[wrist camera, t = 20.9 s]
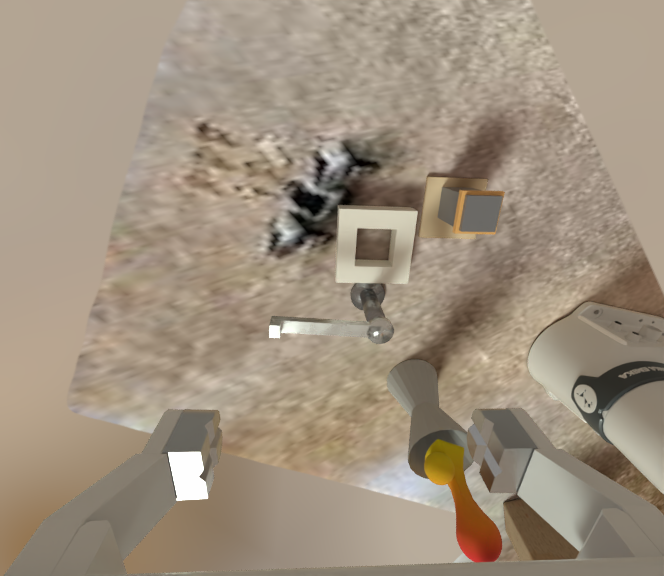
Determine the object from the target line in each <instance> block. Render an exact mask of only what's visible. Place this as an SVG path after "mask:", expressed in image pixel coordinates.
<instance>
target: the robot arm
mask: <svg viewBox="0 0 664 576" xmlns="http://www.w3.org/2000/svg"><path fill="white" fill-rule="evenodd" d="M595 310H596V311H595ZM594 311H595V312H594ZM528 369H529V372H530V374H531V376H532V377H533V378H534V379H535V380H536V381H537V382H539V383H540V384H541V385H543V386H544V387H545V390H546V392H547V394H548V395H549V396H550V397H551V398H552V399H553V400H559V401H561V402H562V403H563V404H564V405H565V406H566V407H568V408H569V409H570V410H571V411H572V412H573V413H575V414H576V415H577V416H578V417H579V418H580V419H582V420H583V421H584V422H586V423H588V424H589V425H590V426H591V427H592V428H593V430H594V431H595V432H596V433H597V434H598V435H599V436H601V437H602V438H603V439H604V440H605V441H607V442H608V443H610V444H612V445H615V446H616V447H617V448H618V449H619V450H620V451H621V452H622V453H623V454H624V456H625V457H626V458H627V459H628V460H629V461H630V462H631V463H632V464H633V465H634V466H635V467H636V468H637V469H638V470H639V471H640V472H641V473H642V474H643V475H644V476H645V477H646V478H647V479H648V480H649V481H650V482H651V483H652V484H653V485H654V486H655V487H656V488H657V489H658V490H659V491H660V492H662V493H663V494H664V318H662V317H659V316H655V315H650V314H645V313H641V312H636V311H632V310H627V309H622V308H618V307H613V306H609V305H604V304H599V303H595V302H585V303H583V304H582V305H581V306H579V307H578V308H577V309H576V310H575V311H574V312H573V313H572V314H571V315H569V316H568V317H566V318H564V319H562V320H560V321H558V322H556V323H554V324H553V325H551V326H550V327H548V328H547V329H546V330H545V331H544V332H543V333H542V334H541V335H540V336H539V337H538V338H537V339H536V341H535V342H534V344H533V346H532V347H531V350H530V352H529V356H528ZM471 419H472V420H473V422H474V424H473V425H472V426H471V427H470V428H469V429H468V433H467V446H468V450H469V453H470V455H471V457H472V459H473V460H474V461H475V462H476V463H478V464H479V465H480V466H481V468H480V472H479V473H480V475H481V477H482V479H483V481H484V483H485V485H486V486H487V488H488V490H489V492H490V493H518V494H517V495H518V496H519V497H520V498H521V499H523V500H524V501H525V502H526V503H527V504H528V505H529V506H530V507H531V508H532V509H533V510H535V511H536V512H537V513H538V514H539V515H540V516H541V517H542V518H543V519H544V520H545V521H546V522H548V523H549V524H550V525H551V526H552V527H553V528H554V529H555V530H556V531H557V532H558V533H560V534H561V535H562V536H563V537H564V538H565V539H566V540H567V541H568V542H569V543H570V544H572V545H573V546H574V547H575V548H576V549H577V550H578V551H579V553H578V555H577V557H576V559H561V560H531V561H502V562H473V563H446V564H445V563H444V564H415V565H388V566H387V565H386V566H356V567H328V568H327V567H326V568H300V569H297V568H296V569H271V570H270V569H268V570H267V569H266V570H236V571H207V572H180V573H179V572H178V573H148V574H127V573H126V569H125V566H124V563H123V560H124V559H125V558H126V557H127V556H128V555H129V554H130V553H131V551H132V550H133V549H134V548H135V547H136V546H137V545H138V544H139V543H140V542H141V540H142V539H143V538H144V537H145V536H146V535H147V534H148V533H149V532H150V531H151V530H152V529H153V527H154V526H155V525H156V524H157V523H158V522H159V521H160V520H161V518H163V516H164V515H165V514H166V513H167V512H168V511H169V510H170V509H171V508H172V507H173V506H174V504H175V503H176V502H177V500H186V499H207V498H208V495H209V492H210V488H211V485H212V482H213V479H214V472H213V468H214V467H215V466H216V465H217V464H218V462H219V459H220V455H221V449H222V430H221V429H220V428H218V426H219V423H220V414H219V411H218V410H190V409H185V410H173V409H168V410H167V411H166V412H165V413H164V414H163V416H162V418H161V419H160V421H159V423H158V425H157V427H156V428H155V430H154V432H153V434H152V435H151V437H150V439H149V441H148V443H147V444H146V446H145V448H144V450H143V451H142V453H141V454H135V455H134V456H132V457H131V458H130V459H128V460H127V461H126V462H124V463H123V464H121V465H120V466H118V467H117V468H116V469H114V470H113V471H112V472H110V473H109V474H108V475H106V476H105V477H103V478H102V479H101V480H99V481H98V482H96V483H95V484H93V485H92V486H91V487H89V488H88V489H87V490H85V491H84V492H82V493H81V494H79V495H78V496H77V497H75V498H74V499H73V500H71V501H70V502H68V503H67V504H66V505H64V506H63V507H62V508H60V509H59V510H57V511H56V512H54V513H53V514H52V515H50V516H49V517H48V518H46V519H45V520H44V521H43V522H42V524H41V525H40V526H39V528H38V529H37V530H36V532H35V533H34V535H33V536H32V537H31V539H30V540H29V542H28V543H27V544H26V546H25V547H24V548H23V550H22V551H21V553H20V554H19V555H18V557H17V558H16V560H15V561H14V562H13V563H12V565H11V566H10V568H9V569H8V571H7V572H6V573H5V575H4V576H664V515H663V514H662V513H661V512H660V511H659V510H658V509H657V508H656V507H655V506H654V505H652V504H651V503H649V502H647V501H646V500H644V499H642V498H641V497H639V496H638V495H636V494H634V493H633V492H631V491H629V490H628V489H626V488H624V487H623V486H621V485H620V484H618V483H616V482H615V481H613V480H611V479H610V478H608V477H606V476H605V475H603V474H601V473H600V472H598V471H597V470H595V469H593V468H592V467H590V466H588V465H587V464H585V463H583V462H582V461H580V460H579V459H577V458H575V457H574V456H572V455H570V454H569V453H567V452H565V451H564V450H562V449H556V448H555V447H554V445H553V444H552V443H551V442H550V440H549V439H548V438H547V437H546V435H545V434H544V433H543V432H542V430H541V429H540V428H539V427H538V425H537V424H536V423H535V422H534V421H533V419H532V418H531V417H530V416H529V414H528V413H527V412H526V411H525V410H524V409H522V408H506V409H475V410H474V411H473V414H472V417H471Z"/></svg>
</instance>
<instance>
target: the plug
mask: <svg viewBox="0 0 664 576" xmlns="http://www.w3.org/2000/svg"><path fill="white" fill-rule="evenodd" d="M504 193H505V192H503V191H482V190H478V189H475V188H464V187H442V191H441V198H440V204H439V211H438V218H439V219H441V220H443V221H444V222H446V223H448V224H449V225H451V226H453V231H452V232H453V233H455V234H495V233H496V228H497V224H498V219H499V215H500V210H501V206H502V202H503V197H504Z"/></svg>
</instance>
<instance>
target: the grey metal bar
mask: <svg viewBox="0 0 664 576" xmlns="http://www.w3.org/2000/svg"><path fill="white" fill-rule="evenodd" d="M281 333H297V334H315V335H333V336H352V337H368V338H369V339H370V340H371V341H372V342H374V343H377V344H382V343H385V342H387V341H389V340H390V339H391V338H392V336H393V334H394V329H393V326H392V324H391V322H390V320H389V319H387V318H385V317H375V318H373V319H371V320H370V321H369V322H366V321H349V320H332V319H315V318H298V317H281V316H272V317H271V321H270V325H269V337H270V338H280V334H281Z"/></svg>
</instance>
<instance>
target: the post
mask: <svg viewBox="0 0 664 576" xmlns="http://www.w3.org/2000/svg"><path fill="white" fill-rule="evenodd" d="M384 296H385V293H384V289H383V287H382V285H381V284H380V283H356V284H355V285H354V286H353V288H352V290H351V300H352V303H353V304H354V305H355V307H357V308H358V309H360V310H364V313H365V317H366V320H367V322H369V321H370V320H371V319H373V318H375V317H385V315H384V313H383V310H382V308H381V303H382V302H383V300H384Z"/></svg>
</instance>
